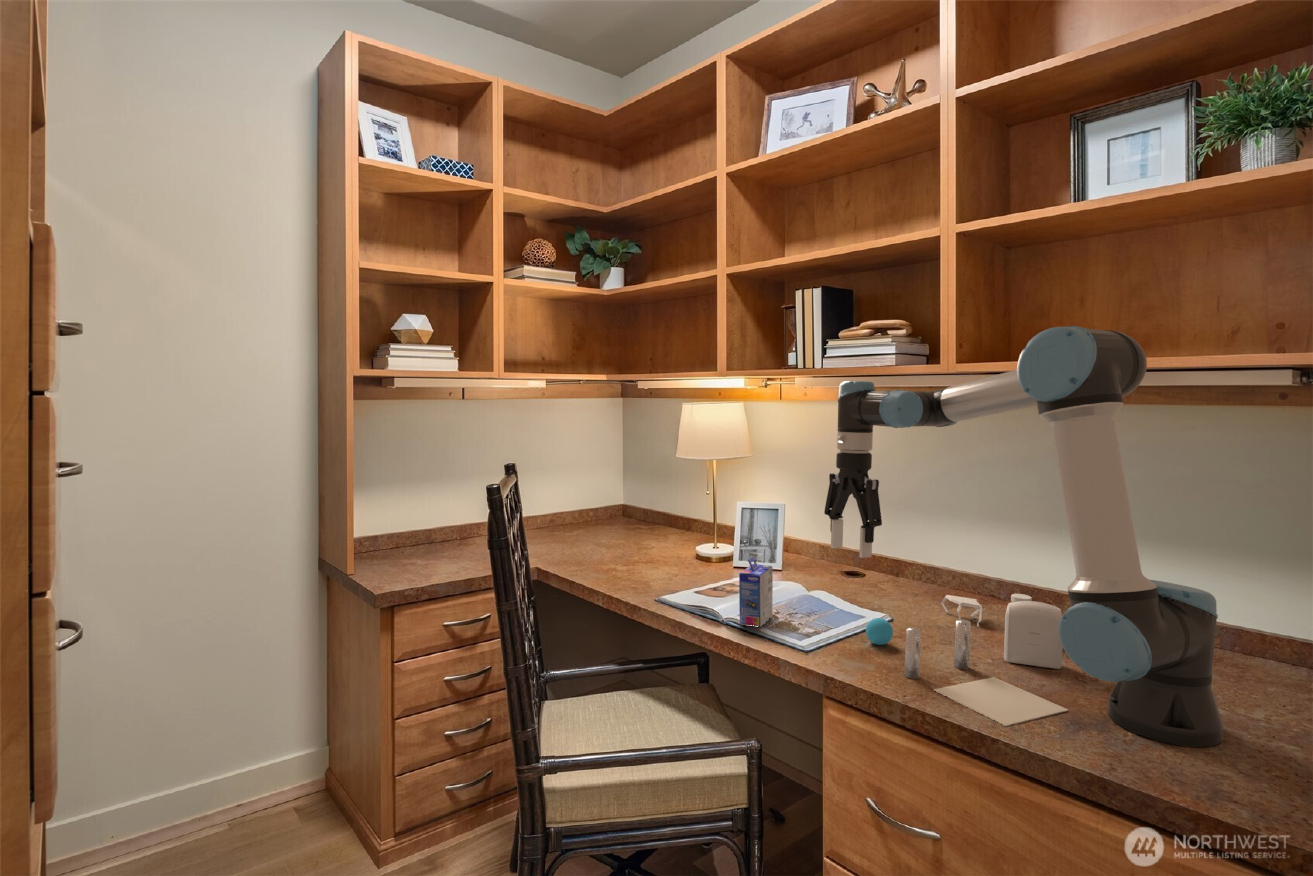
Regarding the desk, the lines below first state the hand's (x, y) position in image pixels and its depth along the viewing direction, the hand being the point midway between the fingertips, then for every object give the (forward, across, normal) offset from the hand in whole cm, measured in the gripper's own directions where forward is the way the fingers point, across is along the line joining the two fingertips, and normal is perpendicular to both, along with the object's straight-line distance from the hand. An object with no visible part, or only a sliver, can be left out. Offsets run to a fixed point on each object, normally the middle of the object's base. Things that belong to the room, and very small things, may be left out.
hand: (850, 552), depth 160 cm
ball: (+15, +10, 0) cm, 18 cm away
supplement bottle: (+18, +19, +31) cm, 40 cm away
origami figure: (+18, +4, +31) cm, 36 cm away
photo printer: (+18, +30, +21) cm, 41 cm away
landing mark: (+17, +40, 0) cm, 44 cm away
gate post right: (+17, +26, +6) cm, 32 cm away
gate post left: (+17, +26, -6) cm, 32 cm away
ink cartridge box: (+18, -13, -16) cm, 27 cm away
